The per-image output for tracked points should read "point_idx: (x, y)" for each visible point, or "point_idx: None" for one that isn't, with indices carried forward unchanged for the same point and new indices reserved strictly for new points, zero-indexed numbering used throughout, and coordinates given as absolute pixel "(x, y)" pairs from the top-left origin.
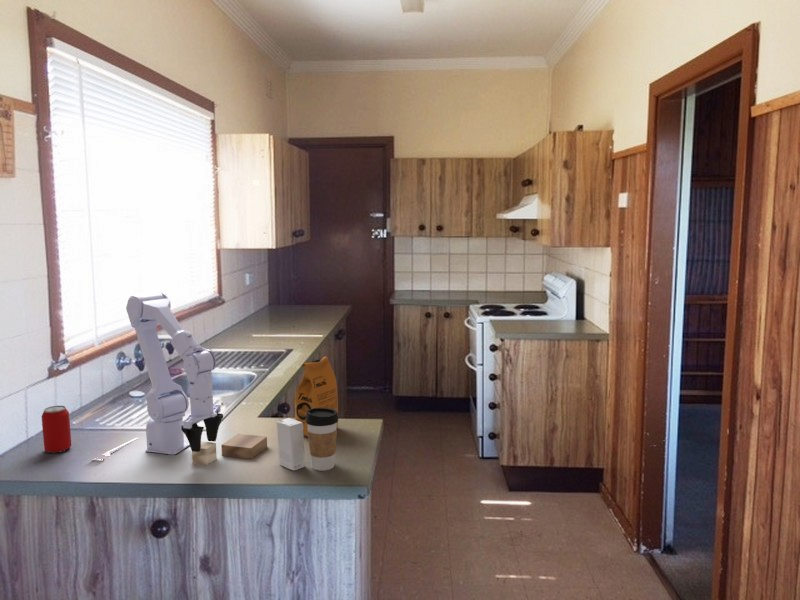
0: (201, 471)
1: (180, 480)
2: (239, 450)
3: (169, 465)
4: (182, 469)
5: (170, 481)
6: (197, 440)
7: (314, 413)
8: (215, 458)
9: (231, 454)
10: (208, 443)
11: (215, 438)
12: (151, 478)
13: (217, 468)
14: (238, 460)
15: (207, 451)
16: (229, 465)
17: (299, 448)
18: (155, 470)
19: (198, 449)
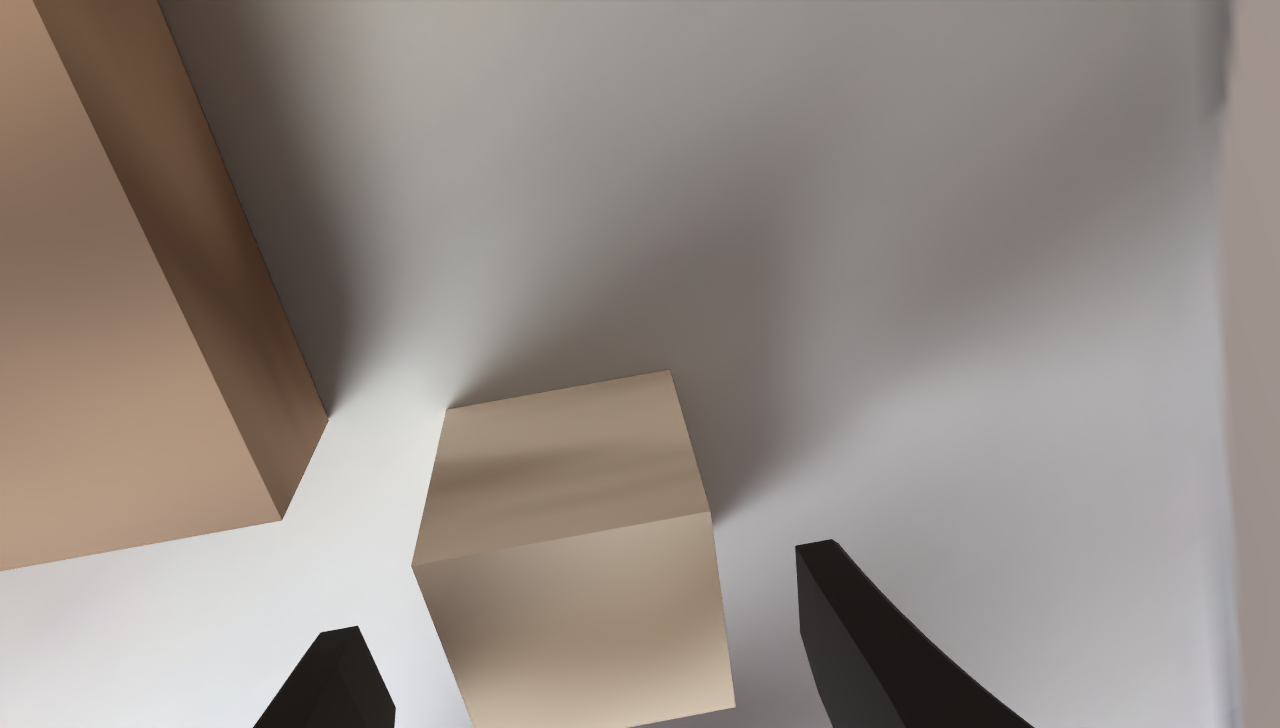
0: (870, 293)
1: (1159, 326)
2: (160, 170)
3: None
4: (878, 508)
5: (1193, 399)
6: (978, 698)
7: None
8: (474, 410)
9: (260, 295)
10: (500, 633)
11: (330, 661)
12: (1138, 586)
13: (716, 169)
14: (316, 76)
15: (680, 480)
16: (549, 75)
17: None
18: None
19: (853, 564)
